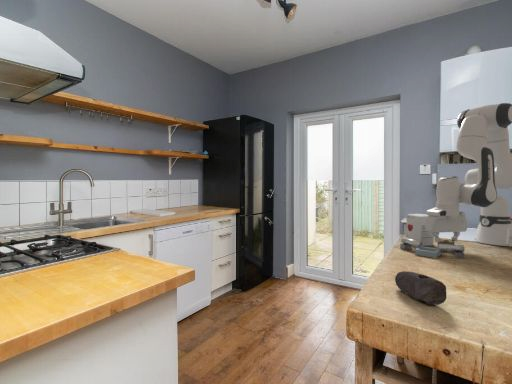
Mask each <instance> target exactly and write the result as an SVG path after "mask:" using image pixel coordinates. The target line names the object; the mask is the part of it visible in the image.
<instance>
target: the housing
mask: <svg viewBox="0 0 512 384" xmlns="http://www.w3.org/2000/svg"><path fill="white" fill-rule="evenodd" d="M441 252H442V251H441V250H438V248H436V247H429V246H428V247H427V246H422V247H416V248H415V249H414V255H416V256H422V257H428V258H432V259H436V258H437V259H438V257H439V256H441V254H442V253H441Z"/></svg>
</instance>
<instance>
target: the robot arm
mask: <svg viewBox="0 0 512 384" xmlns="http://www.w3.org/2000/svg"><path fill="white" fill-rule="evenodd" d="M456 119H457V120H456V123H457V127H458V129H459V131H458V134H457V138H456V139H457V140H456V151H457V153H458V154H459V155H460V156H462V157H464V158H466V159H469V160H471V161H472V160H473V161H475V163H477V168H473V169H469V170H468V171H466V173H465V175H464V182H462V181H461V180H460V179H459V176H456V175H449V176H443V177H442V176H441V177H440V178H439V179H438V180H437V183H436V184H437V185H436V188H435V189H436V191H435V195H436V202H435V207H432V208H429V209H427V210H426V213H425V215H428V216H427V217H426V224H425V228H426V231H427V232H432V233H433V236H434V242H435V243H438V242H441V239H442V238H441V237H439V235H440V233H452V234H453V236H451V237H450V240H451V241H453V242H454V243H456V242H458V238H459V236H460V235H461V232H467V230H468V220H467V217H466V214H465V212H464V211H460V205H464V206H474V207H480V214H479V216H478V217H479V218H478V220H479V224H478V225H477V229H476V237H474V240H475V242H477V243H481V244H486V245H491V246H500V247H501V246H503V247H510V248H511V247H512V216H510V201H509V199H507V198H506V197H503V196H501V195H498V193H497V189H498V190H512V154H511V150H510V149H511V148H510V147H511V146H510V134H509V132H510V131H509V129H508V126H510V125H512V104H511V103H510V102H509V103H508V102H504V103H503V102H502V103H498V104H487V105H483V106H480V107H479V106H477V107H475V108H472V109H470V108H469V109H466V110H463V111H461V112H460V113H459V114H458V116H457V118H456Z"/></svg>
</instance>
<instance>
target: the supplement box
mask: <svg viewBox="0 0 512 384" xmlns="http://www.w3.org/2000/svg"><path fill="white" fill-rule="evenodd" d="M427 216H428V215H427V214H424V213H423V214H422V213H409V214H406V229H405V231H406V233H405V235H406V236H405V238H408V239H412V240H417V241H421V242H422V246H423V247H427V246H428V247H429V246H430V247H431V246H434V244H435V243H434V242H435V237H434V236H433V233H432V232H427V231H426V228H425V224H426V217H427Z"/></svg>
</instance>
